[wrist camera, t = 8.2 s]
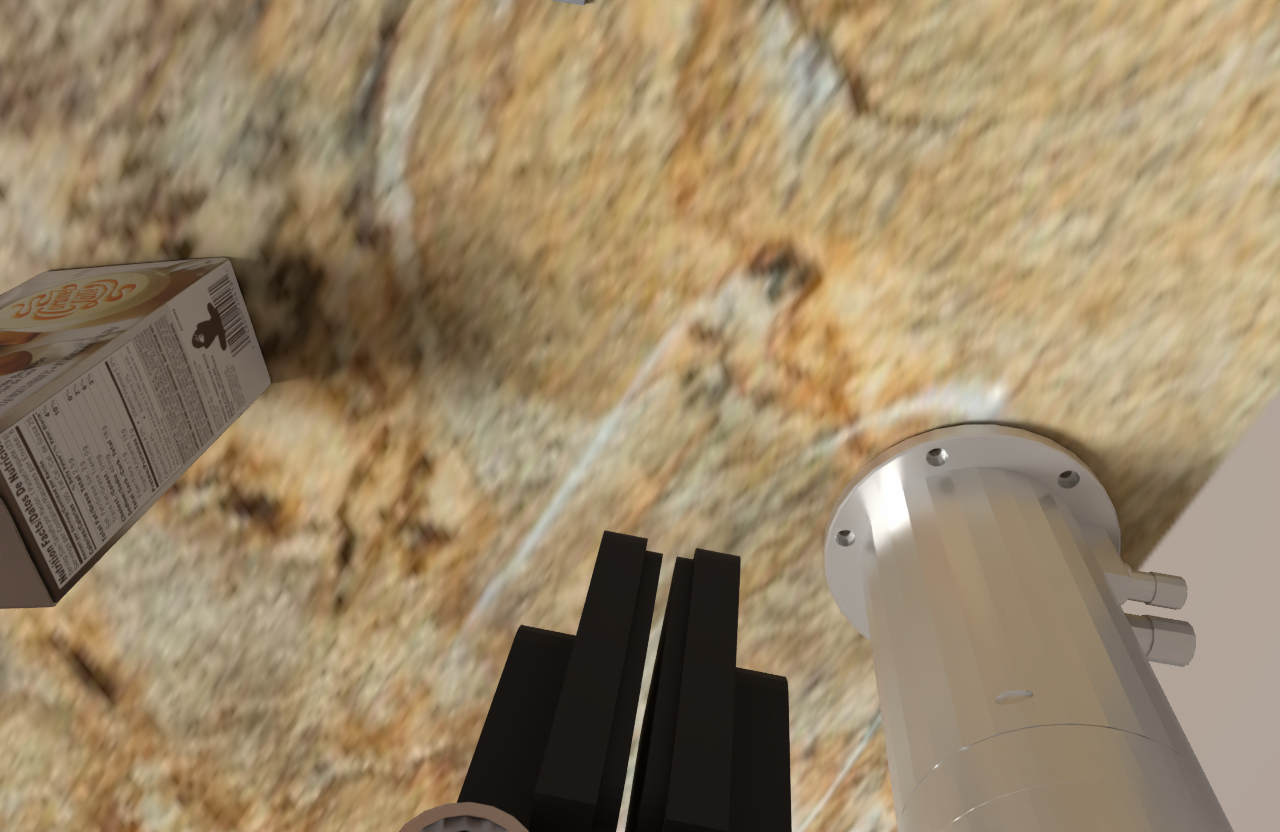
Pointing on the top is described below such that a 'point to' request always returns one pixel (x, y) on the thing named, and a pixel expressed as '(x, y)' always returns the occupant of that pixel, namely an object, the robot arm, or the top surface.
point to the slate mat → (573, 1)
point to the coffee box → (110, 406)
